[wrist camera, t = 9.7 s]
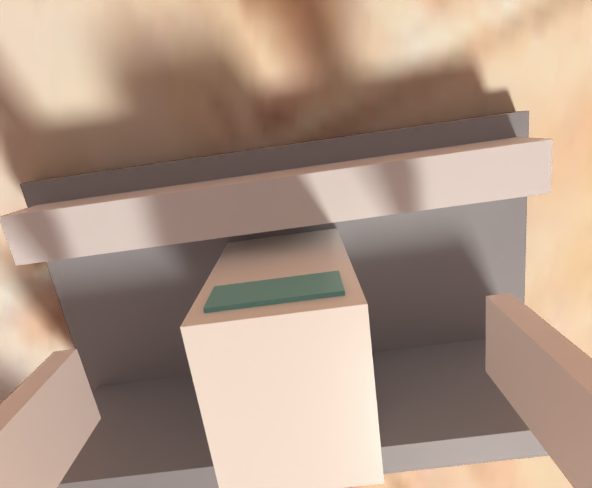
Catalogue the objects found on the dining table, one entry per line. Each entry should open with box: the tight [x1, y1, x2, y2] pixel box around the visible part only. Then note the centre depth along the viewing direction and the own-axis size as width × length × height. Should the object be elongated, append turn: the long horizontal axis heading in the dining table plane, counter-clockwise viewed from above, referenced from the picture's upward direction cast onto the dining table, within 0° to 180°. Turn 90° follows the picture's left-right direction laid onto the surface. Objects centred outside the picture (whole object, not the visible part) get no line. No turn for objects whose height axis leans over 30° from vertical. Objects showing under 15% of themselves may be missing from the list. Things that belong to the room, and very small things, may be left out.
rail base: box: [0, 111, 553, 488], centre depth 16 cm, size 12×22×7 cm, turn 98°
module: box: [180, 228, 384, 488], centre depth 15 cm, size 6×5×8 cm
